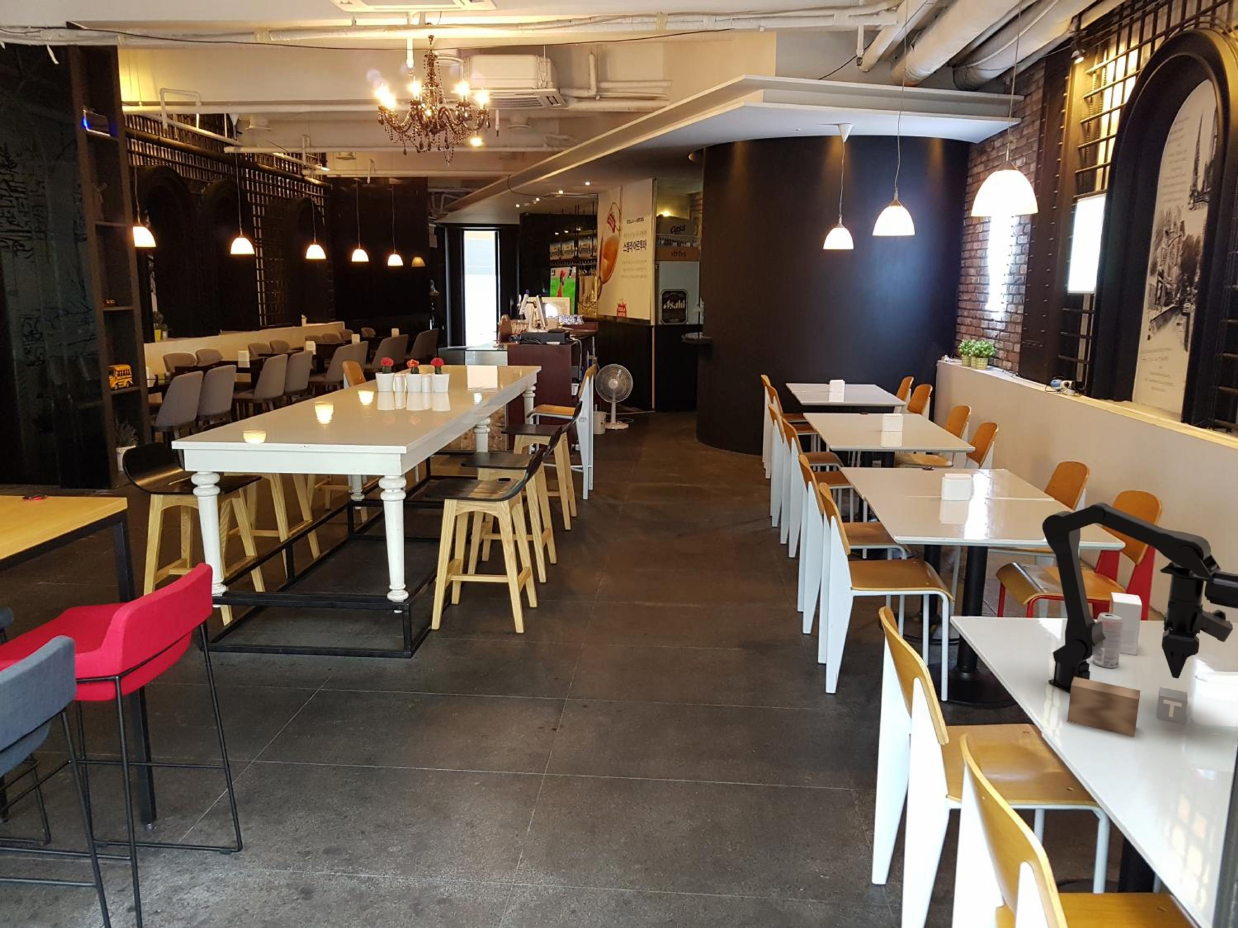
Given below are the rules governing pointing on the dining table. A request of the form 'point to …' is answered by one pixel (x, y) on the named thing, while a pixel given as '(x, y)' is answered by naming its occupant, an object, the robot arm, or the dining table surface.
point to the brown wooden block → (1103, 706)
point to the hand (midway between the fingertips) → (1175, 670)
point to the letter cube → (1172, 705)
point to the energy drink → (1110, 640)
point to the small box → (1127, 619)
